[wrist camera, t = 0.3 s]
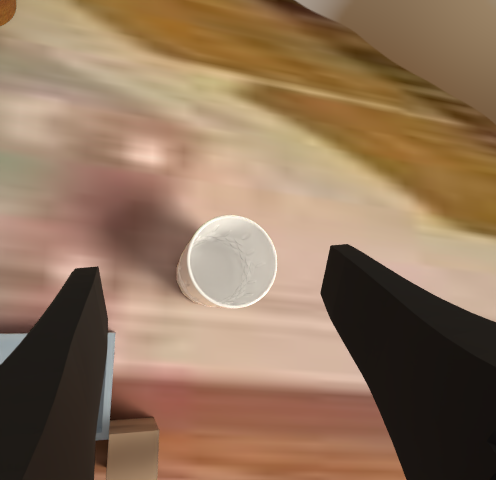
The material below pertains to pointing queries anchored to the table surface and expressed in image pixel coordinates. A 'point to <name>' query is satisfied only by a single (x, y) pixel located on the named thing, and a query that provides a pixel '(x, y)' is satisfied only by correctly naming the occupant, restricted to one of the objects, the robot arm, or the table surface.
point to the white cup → (227, 263)
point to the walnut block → (133, 449)
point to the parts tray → (7, 342)
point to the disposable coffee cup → (7, 10)
